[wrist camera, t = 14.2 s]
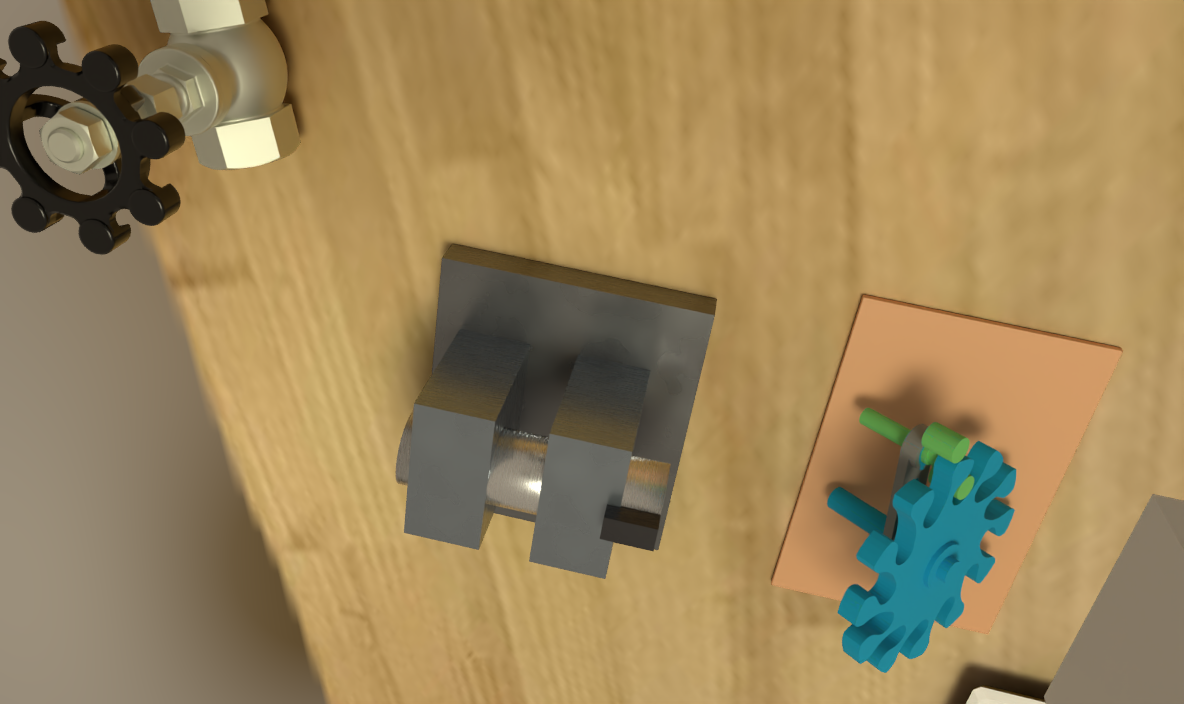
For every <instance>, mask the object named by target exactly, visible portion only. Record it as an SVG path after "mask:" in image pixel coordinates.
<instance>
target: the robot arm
mask: <svg viewBox="0 0 1184 704" xmlns="http://www.w3.org/2000/svg"><path fill="white" fill-rule="evenodd" d="M1044 698H1045V702H1046V704H1184V501H1183V500H1178V499H1173V498H1169V497H1164V496H1160V495H1155V494H1152V496H1151V498H1150V500H1149V502H1148V504H1147V505H1146V507H1145V509H1144V511H1143V513H1142V515H1141V517H1140V519H1139V520H1138V522H1137V524H1136V526H1135V528H1134V530H1133V532H1132V533H1131V535H1130V537H1129V539H1128V541H1127V543H1126V545H1125V546H1124V548H1123V550H1122V552H1121V554H1120V556H1119V558H1118V560H1117V561H1116V563H1115V565H1114V567H1113V569H1112V571H1111V573H1110V574H1109V576H1108V578H1107V580H1106V582H1105V584H1104V586H1103V587H1102V589H1101V591H1100V593H1099V595H1098V597H1097V599H1096V600H1095V602H1094V604H1093V606H1092V608H1091V610H1090V612H1089V614H1088V615H1087V617H1086V619H1085V621H1084V623H1083V625H1082V627H1081V628H1080V630H1079V632H1078V634H1077V636H1076V638H1075V640H1074V641H1073V643H1072V645H1071V647H1070V649H1069V651H1068V653H1067V654H1066V656H1065V658H1064V660H1063V662H1062V664H1061V666H1060V668H1059V669H1058V671H1057V673H1056V675H1055V677H1054V679H1053V681H1052V682H1051V684H1050V686H1049V688H1048V690H1047V692H1046V694H1045V695H1044Z"/></svg>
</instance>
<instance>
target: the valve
mask: <svg viewBox="0 0 1184 704" xmlns="http://www.w3.org/2000/svg"><path fill="white" fill-rule="evenodd" d="M150 1H151V4H152V8H153V11H154V14H155V17H156V21H157V24H158V27H159V31H160V32H165V33H171V34H170V37H169V40H168V44H167V46H165V47H162V48H160V49H157V50H155V51H153V52H151V53H149V54H148V55H147V56H146V57H145V58H144V59H143V60H142V62H141V63H140V65H139V68H138V63H137V61H136V59H135V57H134V55H133V54H132V53H131V52H130V51H129V50H128V49H127V48H125V47H123V46H121V45H117V44H112V45H108V46H105V47H102V48H100V49H97V50H94V51H91V52H89V53H87V54H86V55H85V56H84V58H83V60H82V67H81V66H78V65H74V64H69V63H63V62H62V61H61V60H60V58H59V56H58V51H57V44H60V43H63V42H65V41H66V39H65V37H64V35H63V33H62V32H61V30H60V29H59V28H58V27H57V26H55V25H54V24H52V23H50V22H47V21H38V22H34V23H31V24H27V25H24V26H20V27H17V28H15V29H14V30H13V31H12V32H11V33H10V35H9V40H8V44H9V49H10V51H11V53H12V55H13V57H14V58H15V59H16V60H17V61H18V62H19V63H20V69H19V71H18V72H17V73H16V74H14V75H13V76H8V75H6V74H4V73H3V72H2V70H3V69H4V67H5V66H6V64H7V62H6V61H5V60H3V59H1V58H0V168H3V169H6V170H8V171H9V172H10V173H11V175H12V176H13V177H14V178H15V180H16V181H17V182H18V183H19V185H20V187H21V190H22V193H21V196H20V197H19V198H17V199H16V200H15V201H14V202H13V204H12V208H11V210H12V215H13V218H14V220H15V221H16V223H17V224H18V225H19V226H20V227H21V228H23V229H24V230H26V231H29V232H33V233H37V232H41V231H43V230H45V229H47V228H48V227H50V226H52V225H53V224H55V223H57V222H59V221H60V220H61V219H62V218H63V217H64V215H66V216H70V217H72V218H74V219H75V220H76V221H77V222H78V223H79V225H80V227H79V238H80V240H81V242H82V243H83V245H84V246H85V247H86V248H87V249H88V250H90V251H91V252H93V253H96V254H107V253H109V252H111V251H112V250H114V249H115V248H117V247H119V246H120V245H121V244H123V243H125V242H126V241H127V240H128V239H129V237H130V234H131V228H130V225H129V224H126V225H121V226H119V225H118V223H117V221H116V213H117V212H118V211H119V210H120V209H129V210H130V212H131V214H132V215H133V217H134V218H135V219H136V220H137V221H139V222H140V223H142V224H145V225H149V226H154V225H158V224H160V223H161V222H163V221H164V220H166V219H167V218H169V217H170V216H172V215H173V214H175V213H176V212H177V211H178V209H179V207H180V196H179V194H178V192H177V190H176V189H175V188H174V186H172V185H171V184H167V185H166V186H164V187H162V188H161V187H159V186H157V185H154V184H153V183H151V182H150V181H149V180H148V176H149V171H150V159H160V158H163V157H165V156H166V155H168V154H170V153H172V152H173V151H175V150H177V149H179V148H180V147H181V146H182V145H183V143H184V141H185V136H191V137H192V140H193V143H194V146H195V150H196V153H197V156H198V160H199V163H200V164H202V165H204V166H206V167H208V168H211V169H216V170H235V169H243V168H249V167H255V166H259V165H263V164H267V163H271V162H274V161H277V160H280V159H282V158H284V157H287V156H288V155H290V154H292V153H293V152H294V151H295V150H296V149H297V148H298V146H299V145H300V143H301V140H300V136H299V133H298V129H297V125H296V121H295V117H294V113H293V109H292V105H291V104H287V103H282V102H283V100H284V97H285V94H286V89H287V81H288V72H287V64H286V60H285V56H284V53H283V50H282V48H281V46H280V44H279V42H278V40H277V38H276V37H275V35H274V34H273V32H272V31H271V30H270V28H269V27H268V26H267V25H266V24H265V23H264V22H263V21H262V20H261V19H260V17H263V16H265V15H268V10H267V6H266V2H265V0H150ZM42 86H55V87H61V88H65V89H67V90H70V91H73V92H75V93H77V94H79V95H81V96H82V97H83V98H81V99H78V100H76V101H74V102H68V101H66V100H63V99H60V98H57V97H53V96H48V95H41V94H32V93H33V92H34V91H35V90H36V89H38V88H39V87H42ZM32 117H48V118H51V119H50V120H49V121H48V122H47V123H46V124H45V125H44V126H43V127H42V128H41V129H40V130H39V132H40V137H41V141H42V144H43V146H44V149H45V152H46V154H47V156H48V158H49V159H50V161H51V162H53V163H54V164H56V165H58V166H60V167H62V168H63V169H66V170H68V171H71V172H73V173H76V174H82V173H84V172H86V171H88V170H90V169H101V168H102V169H103V171H104V175H105V185H104V188H103V189H102V190H101V191H100V192H98V193H96V194H94V195H92V196H90V195H84V194H79V193H75V192H73V191H71V190H68V189H66V188H65V187H63V186H61V185H60V184H58V183H56V182H55V181H54V180H52V178H50V176H48V175H47V174H46V173H45V172H44V171H43V170H42V168H41V167H40V166H39V164H38V163H37V162H36V161H35V159H34V158H33V156H32V154H31V152H30V150H29V148H28V146H27V143H26V140H25V137H24V131H23V121H25V120H27V119H30V118H32Z"/></svg>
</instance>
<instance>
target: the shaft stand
mask: <svg viewBox="0 0 1184 704" xmlns="http://www.w3.org/2000/svg"><path fill="white" fill-rule="evenodd" d="M716 301H717V299H714V298H709V297H704V296H699V295H694V294H690V293H685V292H680V291H675V290H671V289H666V288H661V287H656V286H652V285H647V284H642V283H637V282H633V281H628V280H623V279H618V278H613V277H609V276H604V275H599V274H594V273H590V272H585V271H580V270H575V269H571V268H566V267H561V266H556V265H552V264H547V263H542V262H537V261H532V260H528V259H523V258H518V257H513V256H509V255H504V254H499V253H494V252H490V251H485V250H480V249H475V248H471V247H466V246H461V245H456V244H452V245H451V247H450V248H449V249H448V251H447V252H446V253H445V255H444V256H443V257H442V265H441V276H440V288H439V299H438V311H437V322H436V333H435V345H434V356H433V368H432V375H431V377H430V379H429V380H428V382H427V383H426V385H425V387H424V388H423V390H422V392H421V393H420V395H419V396H418V398H417V400H416V401H415V403H414V410H413V412H412V413H411V415H410V417H409V419H408V421H407V423H406V426H405V429H404V432H403V435H402V438H401V442H400V446H399V450H398V456H397V463H396V480H397V483H398V484H402V485H406V486H408V488H407V501H406V514H405V526H404V533H408V534H412V535H417V536H421V537H425V538H430V539H434V540H438V541H443V542H447V543H451V544H456V545H460V546H464V547H469V548H473V549H477V550H479V548H480V546H481V543H482V541H483V538H484V536H485V533H486V531H487V528H488V526H489V523H490V521H491V518H492V516H493V513H496V514H501V515H505V516H510V517H514V518H518V519H523V520H527V521H532V522H535V528H534V534H533V541H532V547H531V553H530V559H529V561H530V562H534V563H538V564H543V565H547V566H551V567H556V568H560V569H564V570H569V571H573V572H577V573H582V574H586V575H590V576H595V577H599V578H603V579H605V578H606V574H607V569H608V565H609V560H610V556H611V551H612V547H613V542H615V543H619V544H624V545H628V546H632V547H637V548H641V549H646V550H650V551H653V550H654V549H655V550H658V549H659V544H660V540H661V536H662V532H663V528H664V524H665V520H666V515H667V511H668V507H669V503H670V499H671V495H672V491H673V486H674V482H675V478H676V474H677V470H678V466H679V462H680V457H681V453H682V449H683V445H684V441H685V437H686V432H687V428H688V424H689V420H690V416H691V412H692V408H693V403H694V399H695V395H696V391H697V387H698V383H699V379H700V374H701V370H702V366H703V362H704V358H705V354H706V350H707V345H708V341H709V337H710V333H711V329H712V325H713V321H714V316H715V309H716Z"/></svg>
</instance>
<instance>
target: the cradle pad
mask: <svg viewBox="0 0 1184 704" xmlns="http://www.w3.org/2000/svg"><path fill="white" fill-rule="evenodd" d="M1122 353H1123V350H1122V349H1121V348H1119V347H1115V346H1110V345H1105V344H1100V343H1095V342H1090V341H1086V340H1081V339H1076V338H1071V337H1066V336H1062V335H1057V334H1052V333H1047V332H1042V331H1037V330H1033V329H1028V328H1023V327H1018V326H1013V325H1009V324H1004V323H999V322H994V321H989V320H984V319H980V318H975V317H970V316H965V315H960V314H956V313H951V312H946V311H941V310H936V309H931V308H927V307H922V306H917V305H912V304H907V303H903V302H898V301H893V300H888V299H883V298H878V297H874V296H869V295H864V294H863V296H862V299H861V302H860V305H859V308H858V311H857V315H856V318H855V321H854V324H853V327H852V330H851V333H850V336H849V340H848V343H847V346H846V349H845V352H844V355H843V358H842V361H841V365H840V368H839V371H838V374H837V377H836V380H835V383H834V387H833V390H832V393H831V396H830V399H829V402H828V405H827V408H826V412H825V415H824V418H823V421H822V424H821V427H820V430H819V433H818V437H817V440H816V443H815V446H814V449H813V452H812V455H811V459H810V462H809V465H808V468H807V471H806V474H805V477H804V480H803V484H802V487H801V490H800V493H799V496H798V499H797V502H796V505H795V509H794V512H793V515H792V518H791V521H790V524H789V527H788V530H787V534H786V537H785V540H784V543H783V546H782V549H781V552H780V556H779V559H778V562H777V565H776V568H775V571H774V574H773V577H772V581H771V585H774V586H778V587H782V588H787V589H791V590H796V591H800V592H804V593H809V594H813V595H817V596H822V597H826V598H831V599H835V600H839V601H842V598H843V596H844V593H845V592H846V590H847V588H848V587H849V586H851V585H853V584H858V585H860V586H861V587H862V588H864V589H865V590H867V591H869V590H870V589H871V588H872V587H873V586H874V585H875V583H876V581H877V579H878V576H879V573H876V572H875V571H873V570H872V569H870V568H869V567H867V566H866V565H864V564H863V563H861V562H860V561H859V560H857V558H856V554H857V552H858V551H859V549H860V547H861V546H862V544H863V543H864V541H865V540H866V539H867V537H868V536H869V535H870V534H869V533H867V532H866V531H864V530H863V529H861V528H860V527H858V526H857V525H855V524H854V523H852V522H851V521H849V520H847V519H846V518H844V517H843V516H841V515H840V514H838V513H837V512H835V511H834V510H832V509H831V508H829V507H828V506H827V501H828V498H829V496H830V494H831V493H832V491H833V490H834V489H836V488H837V487H842V488H844V489H845V490H847V491H848V492H850V493H852V494H853V495H855V496H856V497H858V498H859V499H861V500H863V501H864V502H866V503H867V504H869V505H871V506H872V507H874V508H875V509H877V510H879V511H880V512H882V513H883V514H885V515H887V513H888V508H889V504H890V499H891V494H892V489H893V484H894V480H895V475H896V470H897V465H898V460H899V456H900V451H901V446H900V445H898V444H896V443H894V442H892V441H891V440H889V439H887V438H885V437H884V436H882V435H880V434H878V433H876V432H875V431H873V430H871V429H869V428H868V427H866V426H864V425H862V424H861V423H860V422H859V418H860V415H861V413H862V412H863V411H864V410H865V409H866V408H871V409H873V410H875V411H877V412H879V413H880V414H882V415H884V416H886V417H888V418H890V419H891V420H893V421H895V422H897V423H899V424H901V425H902V426H904V427H906V428H908V429H910V430H912V429H913V428H914V427H915V426H917V425H919V424H925V425H927V426H930V425H931V424H932V423H934V422H938V423H939V424H941V425H943V426H945V427H947V428H949V429H951V430H953V431H955V432H957V433H959V434H960V435H962V436H964V437H966V438H968V439H969V441H970V444H969V448H968V451H967V453H966V455H965V456H968V453H969V451H970V449H971V448H972V447H973V445H974V444H975V443H976V442H977V441H980V442H982V443H984V444H986V445H988V446H990V447H992V448H994V449H996V450H997V451H999V452H1000V453H1001V455H1002V457H1003V462H1004V463H1006V464H1008V465H1010V466H1011V467H1013V468H1015V469H1016V482H1015V486H1014V489H1013V490H1012V492H1011V493H1010V494H1009V495H1008V496H1006V497H1004V498H1001V497H995V498H994V499H997V500H998V501H1000V502H1002V503H1004V504H1006V505H1007V506H1009V507H1011V508H1013V509H1014V510H1015V511H1014V514H1013V517H1012V520H1011V522H1010V524H1009V526H1008V528H1007V530H1006V532H1005V533H1004V534H1003V535H1001V536H997V535H995V534H993V533H991V532H990V531H987V532H986V533H985V534H984V536H983V538H982V540H981V542H980V549H982V550H983V551H985V552H987V553H988V554H990V555H991V556H993V557H994V558H995V563H994V565H993V567H992V568H991V570H990V571H989V573H988V574H987V576H986V577H985V578H984V580H983V581H982V582H981V583H976V582H975V581H973V580H972V579H970V578H969V577H967V576H965V577H964V580H963V584H962V589H961V600H962V602H963V603H964V611H963V613H962V614H961V616H960V617H959V618H958V619H957V620H956V621H955V622H954V623H953V624H951V625H950V626H953V627H958V628H962V629H967V630H971V631H975V632H980V633H984V634H989V632H990V630H991V628H992V625H993V623H994V621H995V619H996V617H997V615H998V613H999V611H1000V609H1001V607H1002V604H1003V602H1004V600H1005V598H1006V596H1007V594H1008V592H1009V590H1010V588H1011V586H1012V584H1013V581H1014V579H1015V577H1016V575H1017V573H1018V571H1019V569H1020V567H1021V565H1022V563H1023V560H1024V558H1025V556H1026V554H1027V552H1028V550H1029V548H1030V546H1031V544H1032V542H1033V540H1034V537H1035V535H1036V533H1037V531H1038V529H1039V527H1040V525H1041V523H1042V521H1043V519H1044V516H1045V514H1046V512H1047V510H1048V508H1049V506H1050V504H1051V502H1052V500H1053V498H1054V495H1055V493H1056V491H1057V489H1058V487H1059V485H1060V483H1061V481H1062V479H1063V477H1064V475H1065V472H1066V470H1067V468H1068V466H1069V464H1070V462H1071V460H1072V458H1073V456H1074V454H1075V451H1076V449H1077V447H1078V445H1079V443H1080V441H1081V439H1082V437H1083V435H1084V433H1085V430H1086V428H1087V426H1088V424H1089V422H1090V420H1091V418H1092V416H1093V414H1094V412H1095V410H1096V407H1097V405H1098V403H1099V401H1100V399H1101V397H1102V395H1103V393H1104V391H1105V389H1106V386H1107V384H1108V382H1109V380H1110V378H1111V376H1112V374H1113V372H1114V370H1115V368H1116V365H1117V363H1118V361H1119V359H1120V357H1121V355H1122ZM931 469H932V465H930V469H929V473H930V471H931ZM928 477H929V474H928ZM930 484H931V483H929V481H928V478H927V482H926V486H927V487H930ZM934 622H936V621H934ZM936 623H938V622H936Z"/></svg>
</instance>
